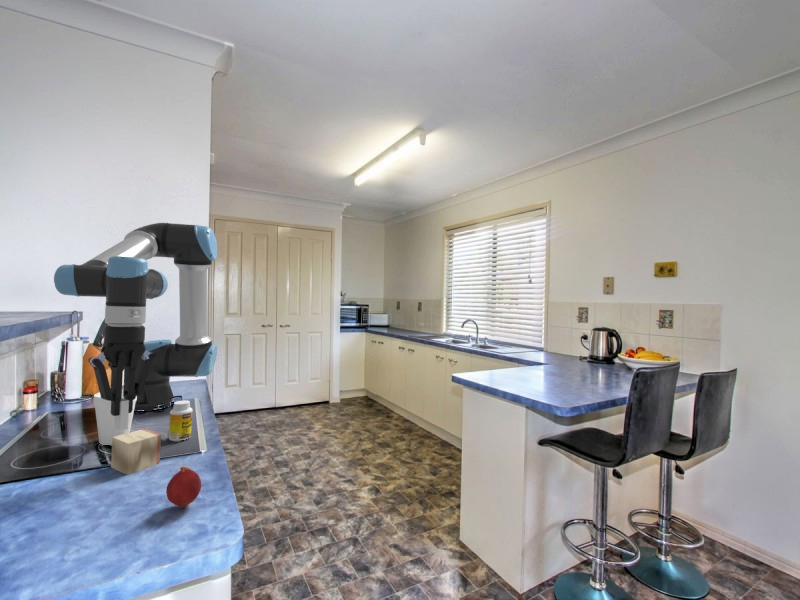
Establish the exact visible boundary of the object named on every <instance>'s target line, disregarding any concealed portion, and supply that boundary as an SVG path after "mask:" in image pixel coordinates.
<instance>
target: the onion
mask: <svg viewBox="0 0 800 600" xmlns="http://www.w3.org/2000/svg"><path fill="white" fill-rule="evenodd" d="M200 477H201V476H199V474H198V473H197V472H196V471H195V470H194V469H190V468H189V467H187V466H186V465H183V466H181V467H180V471H177V473H175V474H174V475H173V476H172V477H171V479H170V480H169V481H168V483H167V486H166V498H167V499H168V501H169V502H170V503H172V505H174V506H177V507H179V508H181V509H184V508H186V507H188V506H189V505H190V504H191V503H193V502H194V501H196V499H197V498H198V496H199V494H200V492H201V489H202V481H201V478H200Z"/></svg>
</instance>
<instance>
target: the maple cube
mask: <svg viewBox="0 0 800 600" xmlns="http://www.w3.org/2000/svg"><path fill="white" fill-rule="evenodd" d="M161 441H162V434H161V433H158V432H155V431H153V430H149V429H146V428H143V429H142V428H141V429H139V430H134V431H130V433H126V434H123V435H119V436H115V437H112V445H111V461H110V463H111V464H110V467H111V468H112V469H114V470H116V471H118V472H120V473H123V474H125V475H127V476H129V475H131V474H135V473H137V472H140V471H144V470H146V469H148V468H152V467H154V465H155V466H157V465H156V464H158V465H160V464H161ZM159 463H160V464H159Z"/></svg>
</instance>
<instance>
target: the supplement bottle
mask: <svg viewBox="0 0 800 600" xmlns="http://www.w3.org/2000/svg"><path fill="white" fill-rule="evenodd" d="M193 411H194V410H193V408H192V407H191V401H190V400H187V399H186V400H177V401H174V405H173V407H172V408H171V410H170V411H169V425H168V426H169V427H168V440H169V441H171V440H172V441H171V442H179V441H178V440H184V441H187V440H189V439H190V438H191V437H192V432H193V431H192V430H193ZM188 438H189V439H188ZM186 439H187V440H186Z"/></svg>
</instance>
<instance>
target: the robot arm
mask: <svg viewBox="0 0 800 600" xmlns="http://www.w3.org/2000/svg"><path fill="white" fill-rule="evenodd" d="M152 258H168V259H173V265H174V266H176V267H177V268H178V277H179V278H178V282H179V284H178V285H179V288H178V289H179V336H178V337H177V338H176V339H175V340H174V343H173V342H172V340H171V339H170V338H168V339H156V340H149V341H145V336H146V327H145V326H144V324H145V323H146V312H147V299H149V300H154V299H157V298H160V297H161V296H163V295H164V294H165V292H166V291H167V289H168V285H169V284H168V279H167V277H166V276H165V274H163V273H162V272H161V271H158V270H155V269H153V268H150V269H149V268H148V267H149V265H148V264H149V262H148V261H147V260H149V259H150V260H151V259H152ZM217 258H218V243H217V238H216V235H215V231H214V230H213V229H212V228H211V227H209V226H206V225H205V226H204V225H199V224H184V223H183V224H182V223H169V222H156V223H151V224H147V225H143V226H141V227H138V228H135V229H133V230H132V231H129V232H128V233H126V234H125V236H124V238H123V240H121V241H119V242H118V243H116V244H114V245H113V246H111V247H110V248H108V249H106V250H104V251H103V252H101V253H99V254H98V255H96V256H94V257H93V258H91V259H89V260H88V261H86V262H83V263H82V264H75V263H74V264H62V265H60V266H59V267H57V268H56V270H55V272H54V275H53V283H54V287H55V289H56V291H57V292H58V293H59V294H61V295H63V296H73V297H74V296H75V297H99V298H101V297H102V298H105V307H104V308H105V309H104V323H105V324H107V325H105V327H104V330H103V331H104V332H103V333H104V334H103V347H102V349H101V351H100V353H99V354H98V355H96V356H95V357H89V358H88V360H87V362H88V363H89V364H90V366H91V367H92V368H93V371H94V375H95V379H96V383H97V387H98V390H99V392H100V395H101V398H102V399H105V400H108V401H111V415H113V416H115V425H114V428H115V429H117V430H120V431H121V430H125V429H128V413H131V412H132V410H133V400H134V399H135V398H136V397H135V396H137V401H136V403H135V408H134V410H140V409H141V410H144V411H148V412H153V411H152V410H153V408H154V406H158V405H160V404H161V403H163V404H164V407H165V409H167V408H166V407H168V406H170V402H171V399H172V398H173V397H174V398H175V396H174V394H173V389H172V386H171V384H170V379H171V378H170V377H175V378H177V377H179V378H180V377H183V378H184V377H185V378H188V377H190V378H192V377H193V378H194V377H195V378H198V377H207V376H209V375H211V373H212V372H213V369H214V367H215V364H216V361H217V354H218V346H217V345H216V344H215V343H213V339H212V337H210V336H209V335H208V269H209V268H210V267H211V266H212V265H213V261H216V260H217ZM106 361H107V362H108V363H109V364H110V370H111V373H110V382H109V378H108V374H107V373H108V372H107V370H106V369H107V368H106V367H105V365H104V364H105V363H106ZM122 389H123V397H124V399H123V398H122ZM168 408H169V407H168Z"/></svg>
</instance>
